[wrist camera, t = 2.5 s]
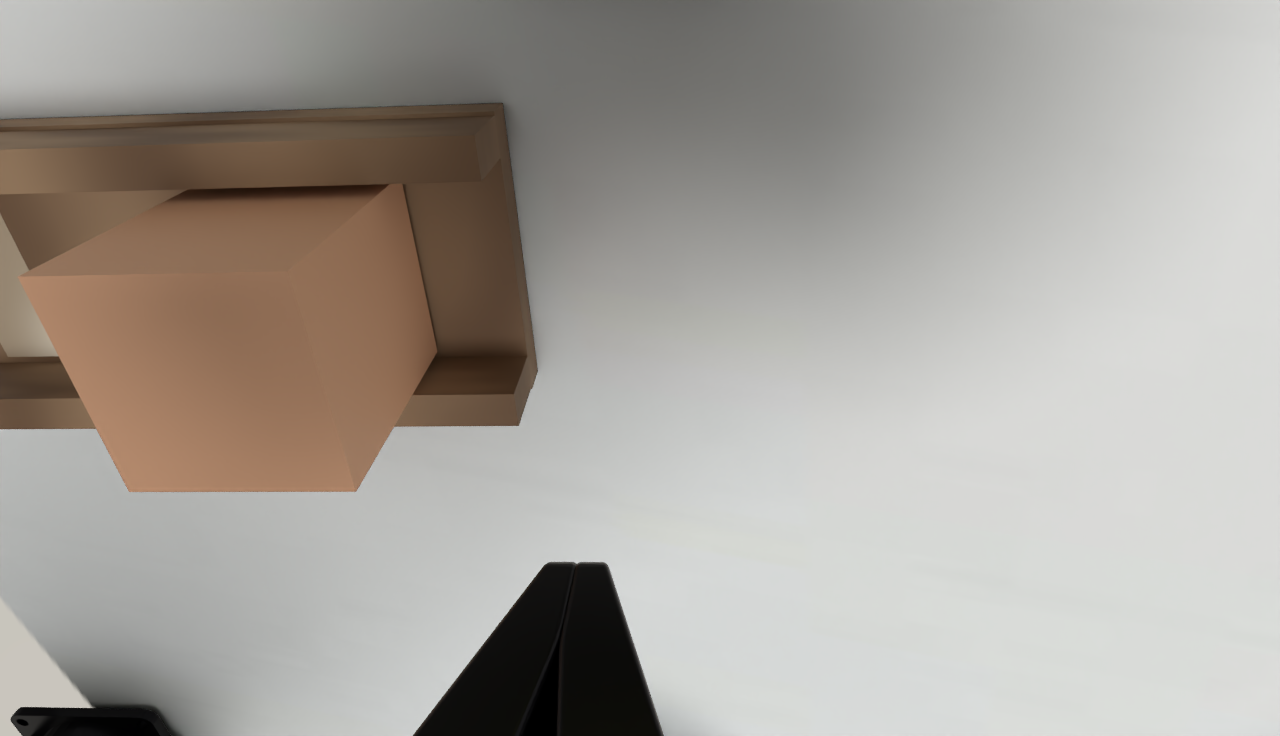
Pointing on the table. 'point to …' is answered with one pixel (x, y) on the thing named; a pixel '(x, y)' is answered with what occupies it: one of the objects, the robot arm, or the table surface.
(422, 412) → the chute
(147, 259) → the block
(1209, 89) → the table surface
